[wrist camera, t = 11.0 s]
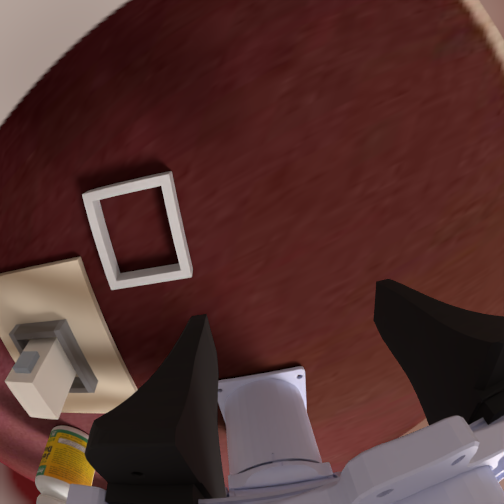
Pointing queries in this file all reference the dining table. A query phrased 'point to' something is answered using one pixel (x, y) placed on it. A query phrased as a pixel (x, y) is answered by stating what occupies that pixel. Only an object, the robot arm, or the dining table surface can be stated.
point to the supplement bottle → (63, 465)
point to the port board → (65, 330)
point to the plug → (42, 378)
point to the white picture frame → (104, 243)
